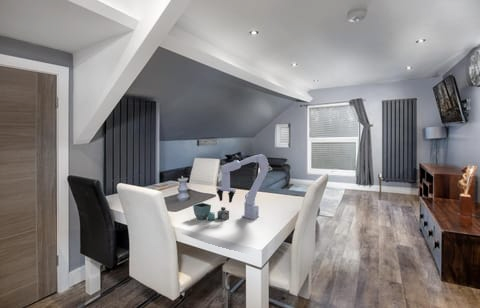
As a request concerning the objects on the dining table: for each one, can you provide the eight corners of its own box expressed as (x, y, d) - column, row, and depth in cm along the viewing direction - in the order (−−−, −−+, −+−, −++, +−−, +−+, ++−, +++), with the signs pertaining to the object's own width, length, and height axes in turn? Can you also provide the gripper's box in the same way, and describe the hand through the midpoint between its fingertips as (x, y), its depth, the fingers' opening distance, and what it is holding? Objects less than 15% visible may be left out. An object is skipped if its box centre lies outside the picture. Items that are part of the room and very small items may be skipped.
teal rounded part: (216, 219, 158) (216, 213, 157) (211, 221, 154) (211, 214, 154) (211, 218, 160) (211, 211, 160) (206, 219, 157) (206, 213, 156)
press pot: (232, 217, 163) (232, 210, 163) (223, 220, 156) (223, 214, 155) (224, 214, 168) (224, 208, 167) (215, 218, 160) (215, 211, 160)
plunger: (226, 216, 161) (226, 207, 161) (223, 217, 159) (223, 208, 158) (222, 215, 163) (223, 206, 162) (220, 216, 160) (220, 207, 160)
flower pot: (202, 215, 166) (202, 202, 166) (211, 217, 161) (211, 204, 160) (192, 218, 160) (192, 205, 159) (201, 221, 154) (201, 207, 153)
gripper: (237, 182, 163) (237, 201, 164) (220, 180, 170) (220, 198, 171) (232, 183, 157) (232, 204, 158) (214, 181, 164) (214, 201, 165)
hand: (225, 201), depth 164 cm, fingers open, 7 cm apart
